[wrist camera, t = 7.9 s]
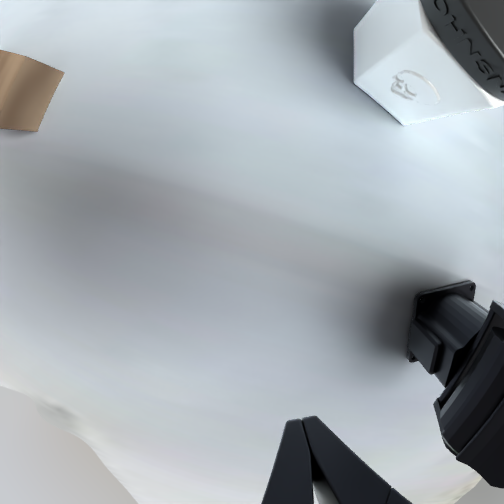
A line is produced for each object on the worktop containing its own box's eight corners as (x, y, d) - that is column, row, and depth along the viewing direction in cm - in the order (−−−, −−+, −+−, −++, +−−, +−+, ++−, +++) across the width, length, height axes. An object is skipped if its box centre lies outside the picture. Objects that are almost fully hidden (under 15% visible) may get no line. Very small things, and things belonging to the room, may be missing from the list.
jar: (323, 66, 16) (404, -36, 5) (376, 2, 14) (454, -82, 3) (422, 149, 18) (557, 148, 6) (461, 79, 16) (571, 50, 4)
